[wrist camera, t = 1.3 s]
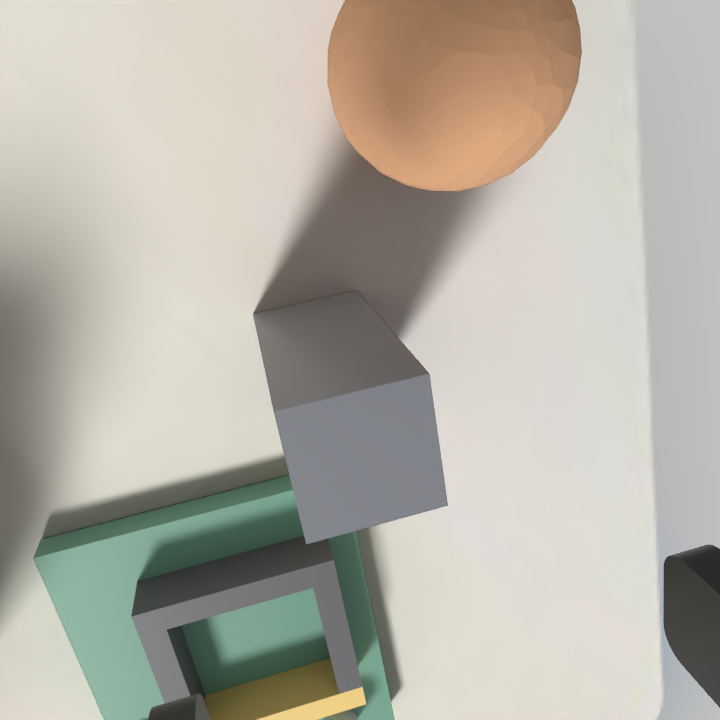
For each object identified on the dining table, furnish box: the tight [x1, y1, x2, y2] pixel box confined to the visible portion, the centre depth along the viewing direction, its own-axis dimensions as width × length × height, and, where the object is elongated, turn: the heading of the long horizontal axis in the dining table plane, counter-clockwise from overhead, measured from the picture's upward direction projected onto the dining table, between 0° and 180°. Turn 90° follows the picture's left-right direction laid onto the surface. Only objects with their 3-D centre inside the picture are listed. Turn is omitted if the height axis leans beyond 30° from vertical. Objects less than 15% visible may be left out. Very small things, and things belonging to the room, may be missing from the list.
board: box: [33, 475, 395, 720], centre depth 27 cm, size 14×12×3 cm
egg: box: [328, 0, 582, 191], centre depth 18 cm, size 7×7×9 cm
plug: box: [253, 291, 448, 544], centre depth 21 cm, size 4×4×9 cm
